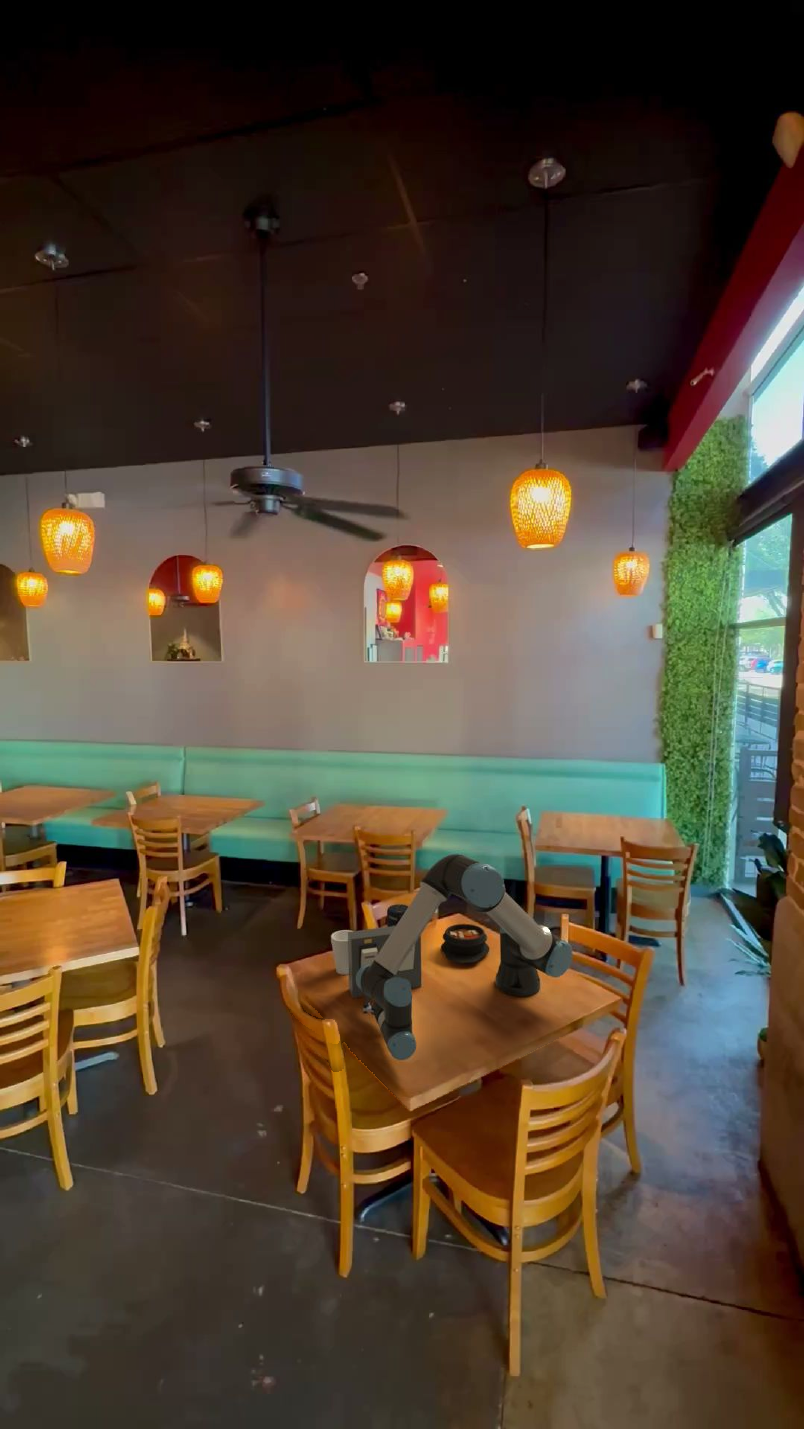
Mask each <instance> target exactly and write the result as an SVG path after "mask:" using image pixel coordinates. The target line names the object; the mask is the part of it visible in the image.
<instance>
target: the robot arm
mask: <svg viewBox="0 0 804 1429" xmlns="http://www.w3.org/2000/svg"><path fill="white" fill-rule="evenodd" d="M504 882H505V880H504V878H503V875H502V874H501V872H500V871H498V870H497V869H496V868H495V867H493V866H492V865H490V864H488V863H484V862H480V861H478V860H475V859H473V858H470V857H468V856H465V855H463V854H459V853H457V854H455V853H454V854H449V855H446V856H444V857H442V858H440V859H439V860H438V861H436V862H435V863H434V864H433V865H432V866H431V867H430V869H428V870H427V872H426V873H425V874H424V876H423V878H421V881H420V883H419V885H420V888H419V890H418V891H417V892H416V894H415V895H414V898H413V899H412V900H411V902H410V904H409V905H408V906H409V907H408V908H407V910H406V911H405V913H404V915H403V916H402V918H401V919H400V921H399V922H398V924H397V925H396V927H395V928H394V930H393V932H392V933H391V935H390V936H389V938H388V939H387V941H386V942H385V944H384V946H383V947H382V949H381V950H380V952H379V953H378V955H377V956H376V958H375V959H374V961H373V963H372V964H371V965H370V964H367V965H364V966H363V967H362V968H360V969H359V971H358V972H357V975H356V984H357V986H358V987H359V988H360V989H361V990H362V992H363V993H364V994H365V995H366V996H365V1000H364V1003H363V1004H362V1006H363V1007H362V1009H363V1011H362V1013H363V1014H365V1015H366V1014H368V1013H370V1014H371V1015H372V1016H374V1018H375V1020H376V1024H377V1025H378V1028H379V1030H380V1033H381V1035H382V1037H383V1039H384V1042H385V1044H386V1048H387V1050H388V1051H389V1053H390V1055H391V1056H392V1058H394V1059H395V1060H398V1061H405V1060H408V1059H410V1058H411V1057H412V1056H413V1055H414V1053H416V1049H417V1041H416V1037H415V1035H414V1034H413V1017H412V1016H413V1014H412V1011H413V1010H412V1008H413V992H412V988H411V984H410V982H409V981H408V980H407V979H402V978H401V977H395V975H396V973H397V972H398V970H399V968H400V967H401V965H402V964H403V962H404V960H405V959H406V957H407V956H408V954H409V953H410V951H411V949H412V948H413V946H414V945H415V943H416V942H417V940H418V938H419V937H420V935H421V936H422V934H423V932H424V931H425V929H426V927H427V926H428V924H429V922H430V921H431V919H432V918H433V916H434V914H436V911H438V908H439V907H440V905H441V904H442V903H443V902H446V901H447V900H448V899H449V897H450V896H451V895H454V896H456V897H458V898H461V899H462V900H464V901H465V903H467V904H468V905H469V906H470V907H472V909H473V910H475V911H476V912H477V913H479V914H487V916H488V917H489V918H490V919H491V920H493V921H494V922H495V923H496V924H497V925H498V926H499V927H500V928H499V929H500V931H499V946H500V947H499V949H500V951H499V952H500V962H499V966H498V969H497V973H496V974H495V981H494V983H495V987H496V988H497V989H498V991H500V992H502V993H503V994H506V995H509V996H513V997H515V996H516V997H528V996H532V995H533V996H534V994H537V993H538V992H539V991H540V989H541V978H540V975H539V972H538V971H540V972H541V973H543V974H545V975H547V976H548V977H551V978H554V979H555V978H560V977H562V976H563V975H564V974H565V973H567V970H568V969H569V968H570V966H571V963H572V959H573V949H572V946H571V944H570V943H568V942H567V940H563V939H560V938H559V937H557V936H556V935H555V933H553V932H552V930H550V929H549V928H548V927H547V926H545V925H542V924H538V923H537V922H536V921H535V919H534V918H532V917H530V915H529V914H528V913H527V912H526V911H525V910H524V909H523V908H522V907H521V906H520V905H519V904H518V903H517V902H516V901H515V900H514V899H513V898H512V897H511V896H510V895H509V894H508V893H507V892H506V887H505V883H504ZM371 1000H372V1001H373V1003H374V1004H373V1005H372V1006H371V1004H370V1002H371Z"/></svg>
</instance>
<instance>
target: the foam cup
mask: <svg viewBox="0 0 804 1429" xmlns="http://www.w3.org/2000/svg"><path fill="white" fill-rule="evenodd" d="M353 931H354V930H350V929H343V930H338V931H335V932H332V934H331V935H330V942H331V946H332V952H333V959H334V965H335V971H336V973H337V974H339V975H349V965H348V932H353Z"/></svg>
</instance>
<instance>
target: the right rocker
mask: <svg viewBox="0 0 804 1429" xmlns="http://www.w3.org/2000/svg"><path fill="white" fill-rule="evenodd" d="M414 951H415V945H414V946H413V948H412V949H411V951H410V953H409V954H408V956H407V957H406V959H405V960H404V962H403V964H402V965H401V967H400V968H399V971H404V970H410V969H413V965H414Z"/></svg>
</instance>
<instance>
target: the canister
mask: <svg viewBox="0 0 804 1429" xmlns="http://www.w3.org/2000/svg"><path fill="white" fill-rule="evenodd" d="M408 907H409V905H406V904H401V903H399V904H398V903H396V904H393V905H390V906H389V907H388V908H387V910H386V924H387V926H386V927H391V926H396V925H397V924H398V922H399V921H400V919H401V918H402V916H403V915H404V913H405V911H406V910H407V908H408Z"/></svg>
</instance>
